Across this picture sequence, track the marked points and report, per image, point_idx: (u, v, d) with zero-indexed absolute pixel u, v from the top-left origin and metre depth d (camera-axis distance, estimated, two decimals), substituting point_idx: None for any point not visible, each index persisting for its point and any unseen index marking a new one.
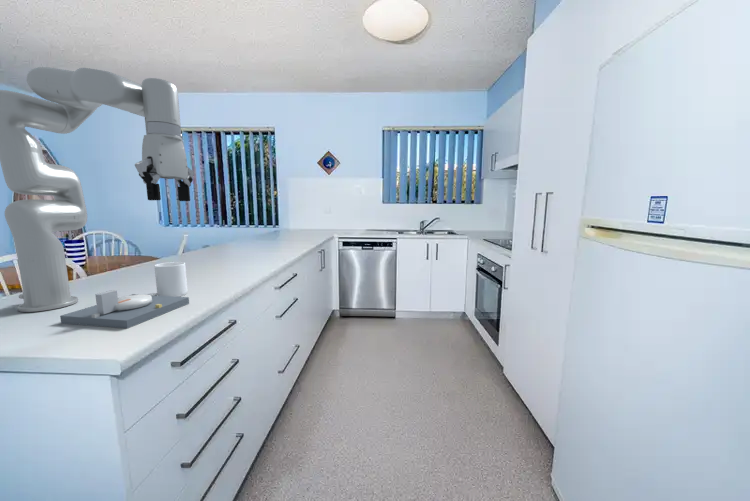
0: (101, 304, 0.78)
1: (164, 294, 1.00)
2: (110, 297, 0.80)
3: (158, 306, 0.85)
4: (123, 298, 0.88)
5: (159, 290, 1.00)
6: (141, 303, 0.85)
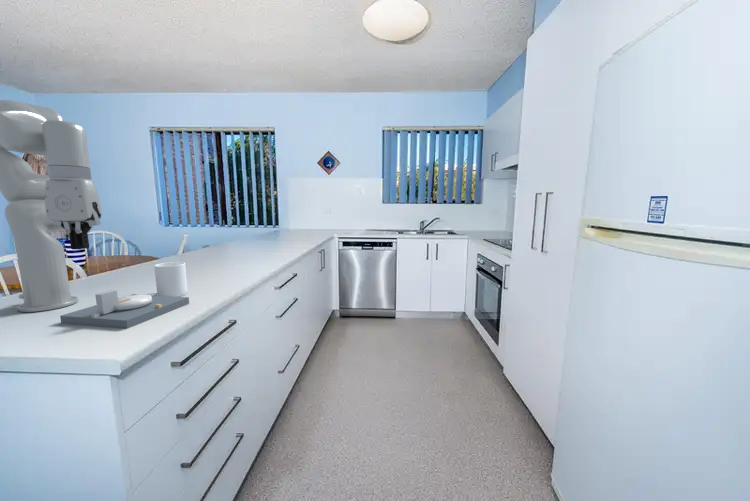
0: (101, 304, 0.78)
1: (164, 294, 1.00)
2: (110, 297, 0.80)
3: (158, 306, 0.85)
4: (123, 298, 0.88)
5: (159, 290, 1.00)
6: (141, 303, 0.85)
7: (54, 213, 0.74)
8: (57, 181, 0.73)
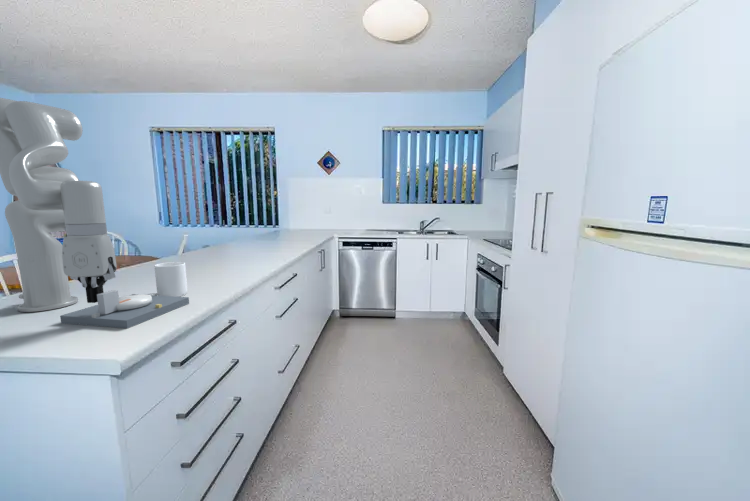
0: (103, 304, 0.78)
1: (164, 294, 1.00)
2: (111, 297, 0.80)
3: (158, 306, 0.85)
4: (122, 298, 0.87)
5: (159, 290, 1.00)
6: (142, 303, 0.85)
7: (71, 269, 0.76)
8: (75, 239, 0.75)
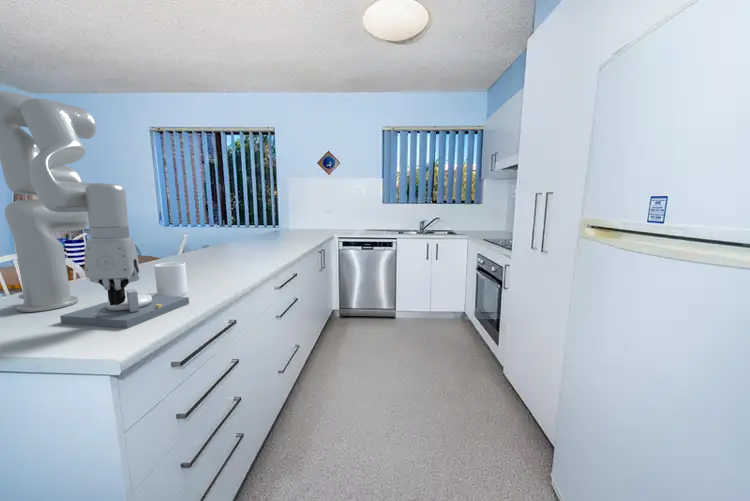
0: (136, 301, 0.81)
1: (164, 294, 1.00)
2: None
3: (158, 306, 0.85)
4: None
5: (159, 290, 1.00)
6: (151, 298, 0.89)
7: (95, 272, 0.76)
8: (100, 242, 0.75)
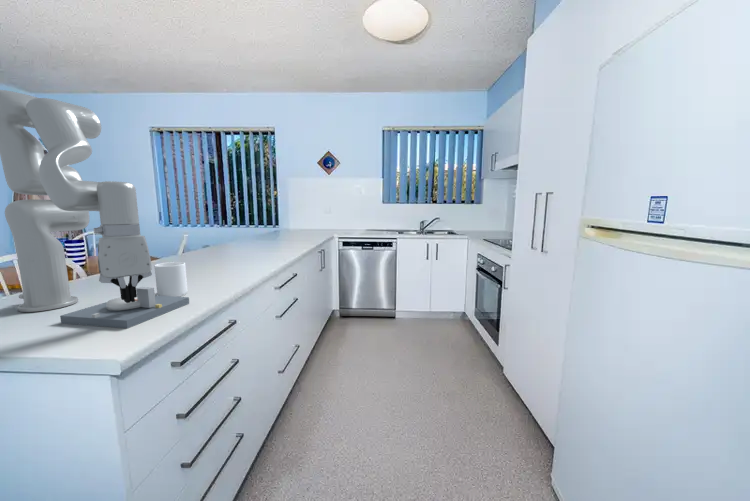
0: (153, 297, 0.85)
1: (164, 294, 1.00)
2: None
3: (158, 306, 0.85)
4: (118, 302, 0.84)
5: (159, 290, 1.00)
6: None
7: (116, 270, 0.76)
8: (121, 239, 0.76)
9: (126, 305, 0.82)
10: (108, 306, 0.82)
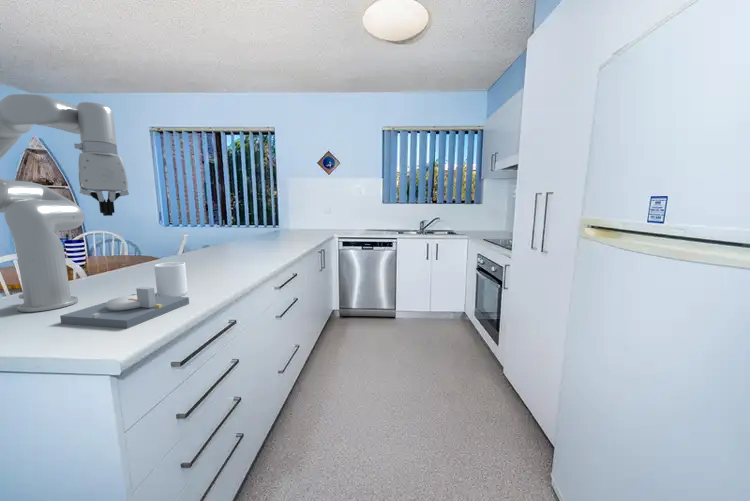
0: (153, 297, 0.85)
1: (164, 294, 1.00)
2: None
3: (158, 306, 0.85)
4: (118, 302, 0.84)
5: (159, 290, 1.00)
6: None
7: (94, 183, 0.85)
8: (99, 156, 0.85)
9: (126, 305, 0.82)
10: (108, 306, 0.82)
